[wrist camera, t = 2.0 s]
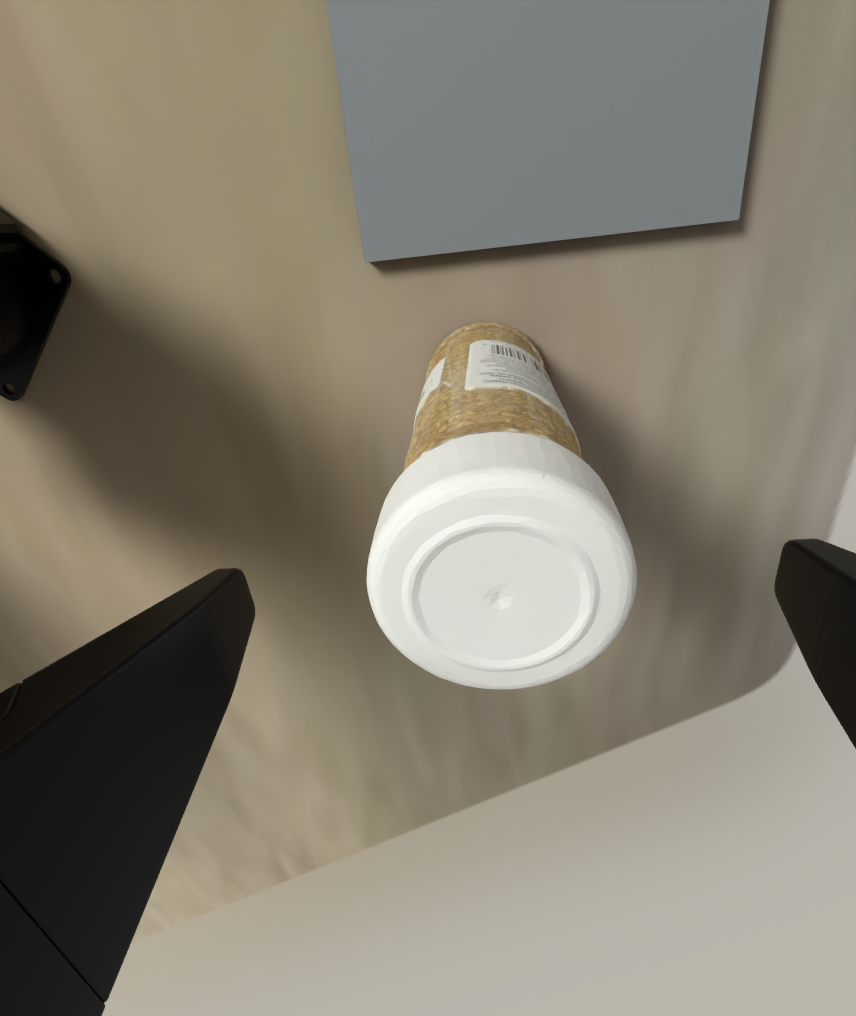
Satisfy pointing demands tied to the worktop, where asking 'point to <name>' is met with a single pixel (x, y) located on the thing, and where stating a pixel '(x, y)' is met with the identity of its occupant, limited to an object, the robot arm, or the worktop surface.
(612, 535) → the sprinkles bottle
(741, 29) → the rest mat
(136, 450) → the worktop surface
